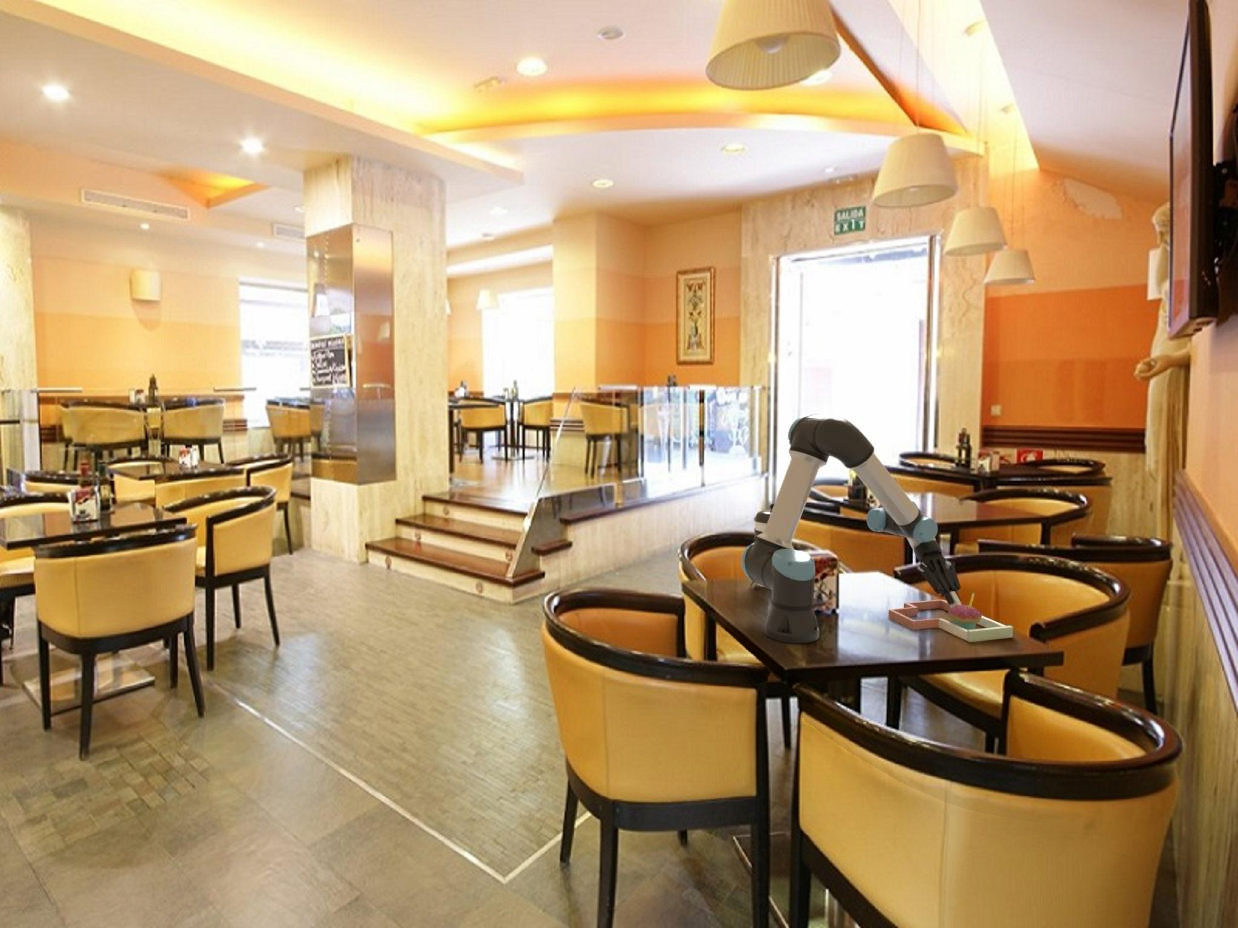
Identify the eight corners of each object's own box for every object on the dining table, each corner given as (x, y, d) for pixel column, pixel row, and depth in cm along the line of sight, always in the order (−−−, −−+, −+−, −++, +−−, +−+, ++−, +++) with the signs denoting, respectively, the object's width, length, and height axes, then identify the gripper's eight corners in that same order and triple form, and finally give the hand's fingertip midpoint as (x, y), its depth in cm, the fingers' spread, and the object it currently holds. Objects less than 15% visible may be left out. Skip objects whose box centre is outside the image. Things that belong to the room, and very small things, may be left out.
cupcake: (982, 627, 201) (985, 588, 199) (977, 638, 195) (980, 597, 192) (950, 621, 206) (953, 582, 204) (944, 630, 200) (947, 591, 198)
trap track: (942, 644, 189) (943, 634, 188) (879, 612, 216) (879, 603, 215) (1012, 637, 195) (1013, 626, 194) (942, 606, 222) (942, 597, 221)
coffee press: (743, 581, 250) (744, 500, 246) (787, 582, 250) (789, 500, 246) (751, 596, 232) (753, 508, 229) (799, 596, 232) (802, 508, 229)
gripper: (935, 550, 223) (971, 616, 209) (901, 553, 220) (935, 620, 206) (948, 537, 217) (986, 605, 203) (913, 540, 214) (949, 609, 200)
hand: (960, 613), depth 204 cm, fingers closed
